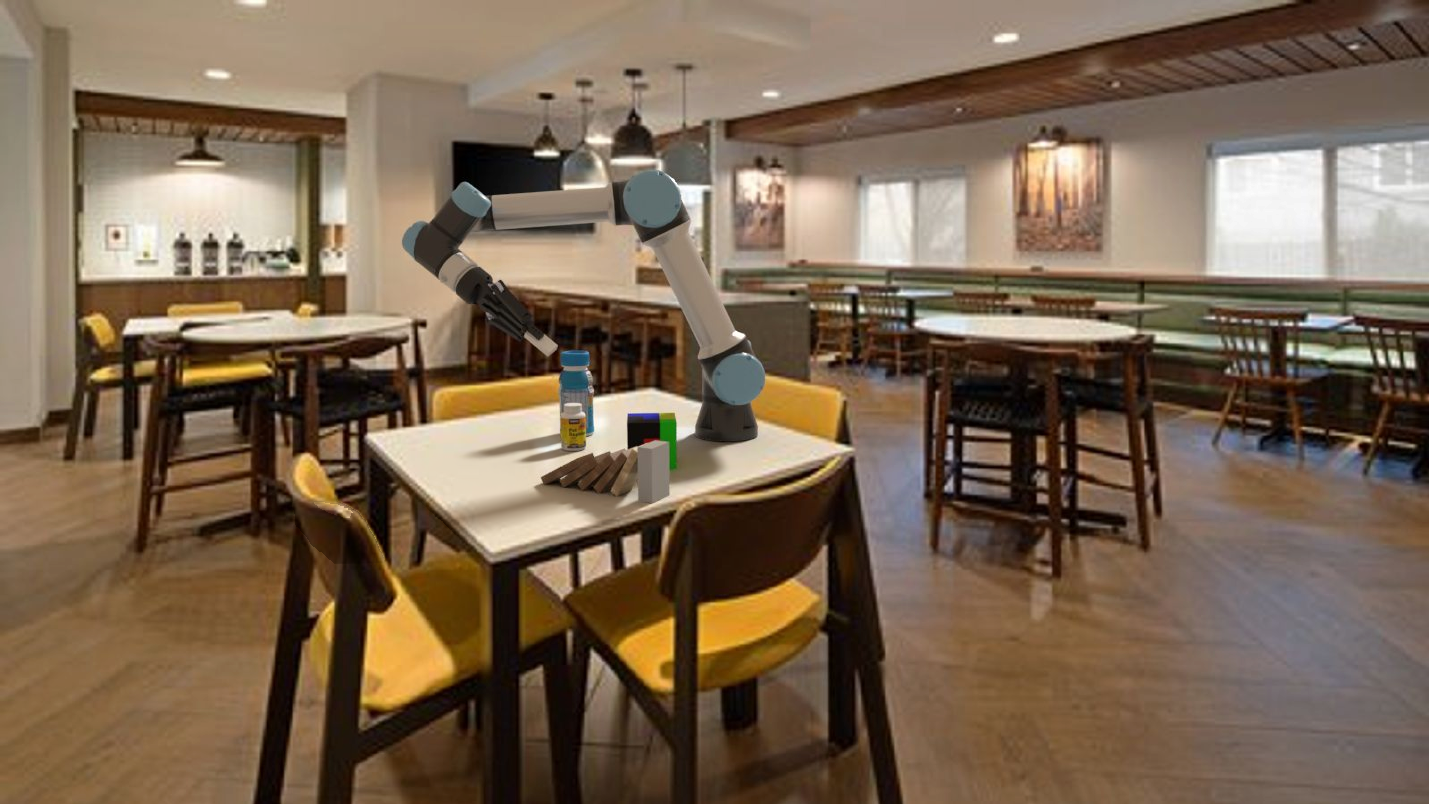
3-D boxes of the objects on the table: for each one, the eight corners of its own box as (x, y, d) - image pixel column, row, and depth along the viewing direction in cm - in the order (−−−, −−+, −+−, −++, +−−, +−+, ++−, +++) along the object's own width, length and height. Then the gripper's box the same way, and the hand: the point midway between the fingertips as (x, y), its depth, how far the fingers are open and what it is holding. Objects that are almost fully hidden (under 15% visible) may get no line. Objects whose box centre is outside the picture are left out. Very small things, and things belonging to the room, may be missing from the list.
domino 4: (593, 487, 163) (621, 451, 159) (608, 480, 168) (636, 446, 163) (598, 493, 163) (627, 458, 158) (614, 487, 167) (642, 452, 163)
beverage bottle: (570, 439, 206) (568, 355, 203) (553, 433, 213) (550, 351, 209) (601, 434, 212) (599, 352, 208) (583, 429, 218) (581, 349, 214)
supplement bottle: (567, 453, 194) (566, 407, 192) (557, 448, 198) (555, 403, 196) (590, 449, 197) (589, 404, 195) (580, 444, 201) (578, 401, 199)
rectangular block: (638, 501, 158) (637, 446, 156) (655, 492, 164) (655, 440, 162) (652, 503, 157) (651, 448, 155) (669, 494, 162) (669, 442, 160)
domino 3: (577, 484, 165) (609, 454, 160) (593, 477, 169) (624, 448, 165) (582, 490, 165) (614, 461, 160) (597, 484, 169) (629, 455, 164)
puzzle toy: (628, 459, 189) (627, 413, 187) (674, 458, 190) (674, 412, 188) (627, 471, 179) (627, 423, 177) (676, 470, 180) (676, 422, 178)
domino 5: (610, 491, 162) (632, 448, 158) (625, 484, 166) (647, 443, 162) (616, 496, 161) (639, 453, 157) (631, 489, 165) (653, 448, 162)
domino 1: (540, 477, 169) (576, 458, 164) (556, 471, 173) (592, 452, 168) (543, 484, 169) (580, 466, 164) (560, 478, 173) (595, 460, 168)
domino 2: (559, 480, 167) (594, 456, 162) (575, 474, 171) (609, 451, 166) (563, 487, 167) (598, 464, 162) (579, 481, 171) (613, 458, 166)
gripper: (451, 307, 184) (535, 378, 182) (456, 269, 174) (545, 343, 172) (477, 289, 189) (559, 357, 186) (483, 250, 178) (570, 322, 176)
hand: (552, 351), depth 179 cm, fingers closed
